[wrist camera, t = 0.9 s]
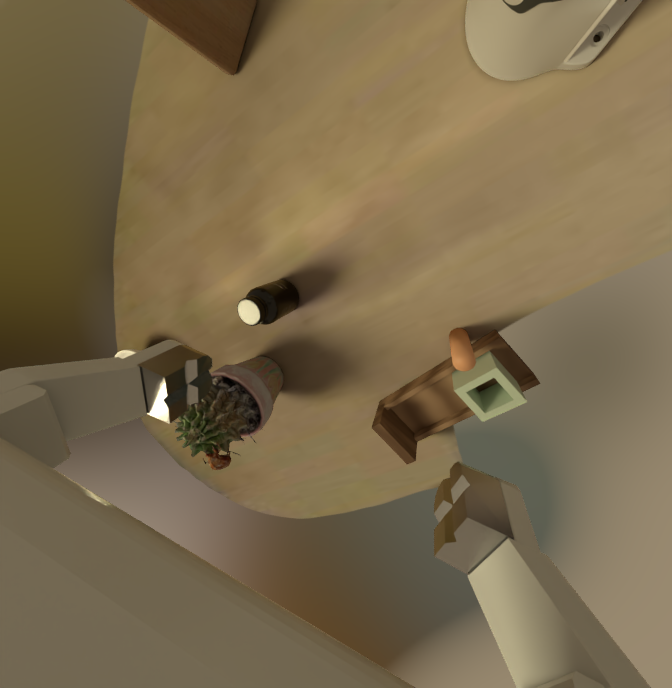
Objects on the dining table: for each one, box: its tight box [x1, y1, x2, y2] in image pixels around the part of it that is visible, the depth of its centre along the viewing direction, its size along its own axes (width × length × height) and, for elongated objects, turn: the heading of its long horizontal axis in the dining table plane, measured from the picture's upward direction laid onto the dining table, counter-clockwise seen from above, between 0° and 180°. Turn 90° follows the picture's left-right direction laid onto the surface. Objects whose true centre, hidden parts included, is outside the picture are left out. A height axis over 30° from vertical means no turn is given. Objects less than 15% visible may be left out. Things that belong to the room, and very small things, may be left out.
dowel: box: [449, 328, 476, 371], centre depth 42 cm, size 3×3×10 cm
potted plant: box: [173, 356, 283, 470], centre depth 54 cm, size 18×20×25 cm
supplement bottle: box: [237, 280, 299, 326], centre depth 49 cm, size 7×7×12 cm
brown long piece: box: [372, 330, 540, 464], centre depth 47 cm, size 26×10×8 cm, turn 136°
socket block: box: [452, 351, 527, 422], centre depth 42 cm, size 7×7×6 cm
